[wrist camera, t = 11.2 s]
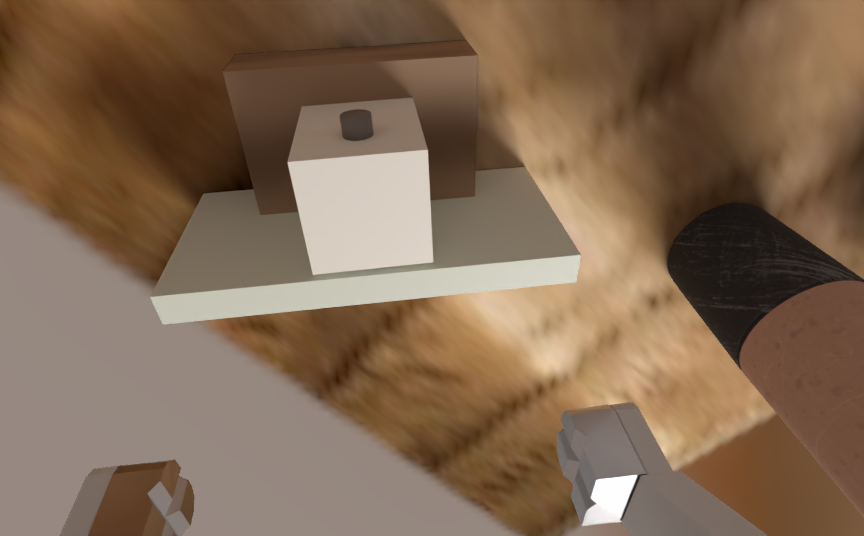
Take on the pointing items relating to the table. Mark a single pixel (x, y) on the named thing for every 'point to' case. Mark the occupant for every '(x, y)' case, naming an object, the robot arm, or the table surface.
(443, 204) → the wall board
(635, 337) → the table surface
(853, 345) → the travel mug
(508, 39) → the table surface
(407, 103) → the cabinet block
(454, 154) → the cleat ledge
